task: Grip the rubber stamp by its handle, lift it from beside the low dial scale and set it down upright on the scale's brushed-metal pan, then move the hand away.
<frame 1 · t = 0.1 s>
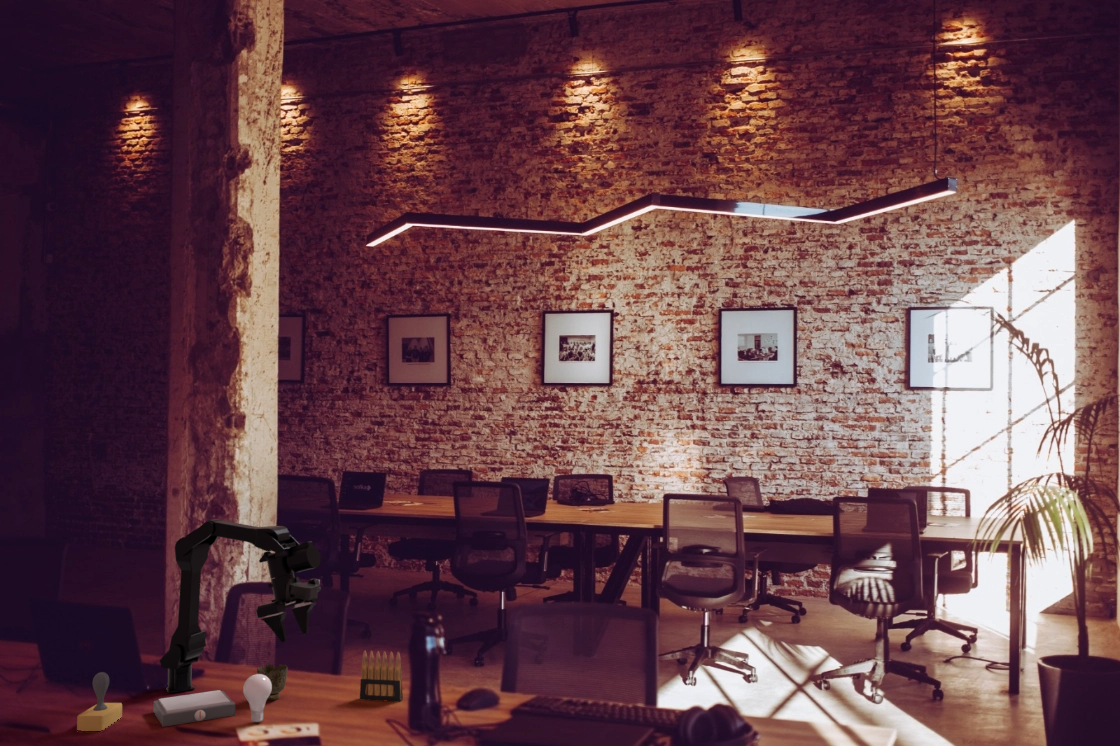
hand: (294, 638, 238), 15 cm above the table, tool pointing down, fingers open, 9 cm apart
dial scale: (194, 713, 227), on the table
ammunition clip: (381, 700, 238), on the table
lightbulb: (257, 723, 220), on the table
rubber stamp: (99, 726, 219), on the table
cup: (272, 699, 238), on the table
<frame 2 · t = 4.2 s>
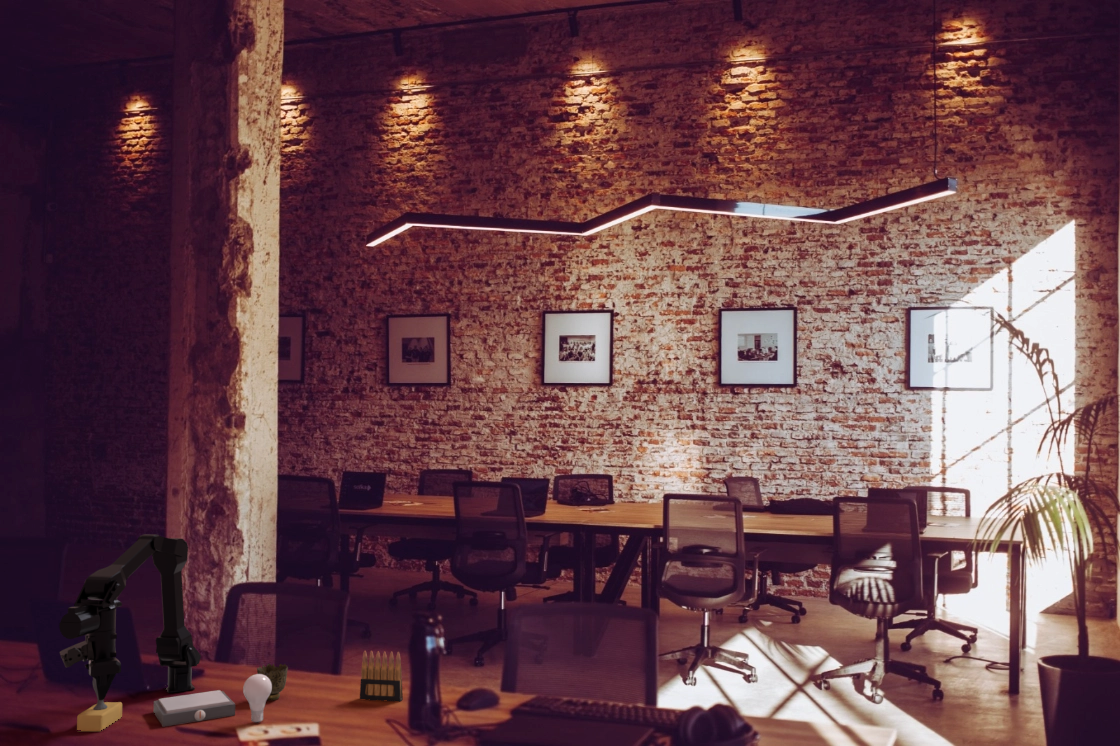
hand: (100, 698, 219), 6 cm above the table, tool pointing down, fingers closed on rubber stamp, 3 cm apart
rubber stamp: (99, 725, 219), on the table, touching gripper
everything else where it was.
when the fingers open (10 cm above the table, at t = 8.6 s): rubber stamp drops 1 cm, resting on dial scale.
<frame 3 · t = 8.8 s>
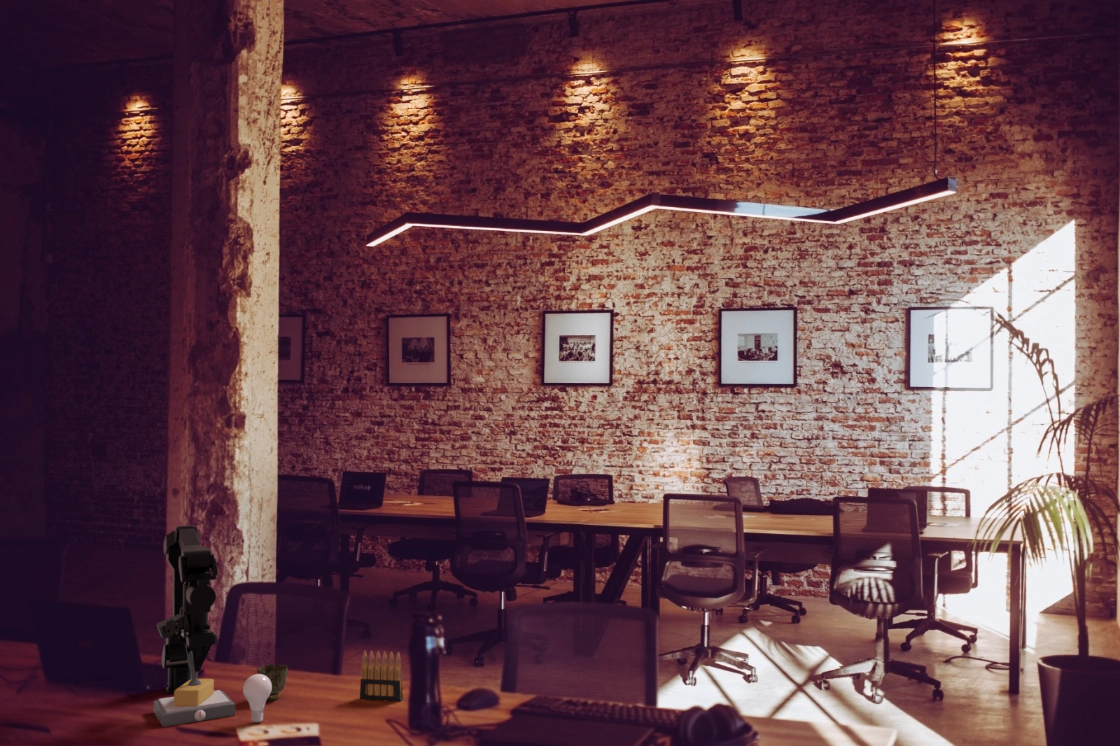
hand: (194, 669, 227), 10 cm above the table, tool pointing down, fingers open, 5 cm apart
rubber stamp: (194, 700, 227), point 3 cm above the table, touching dial scale
everything else where it was.
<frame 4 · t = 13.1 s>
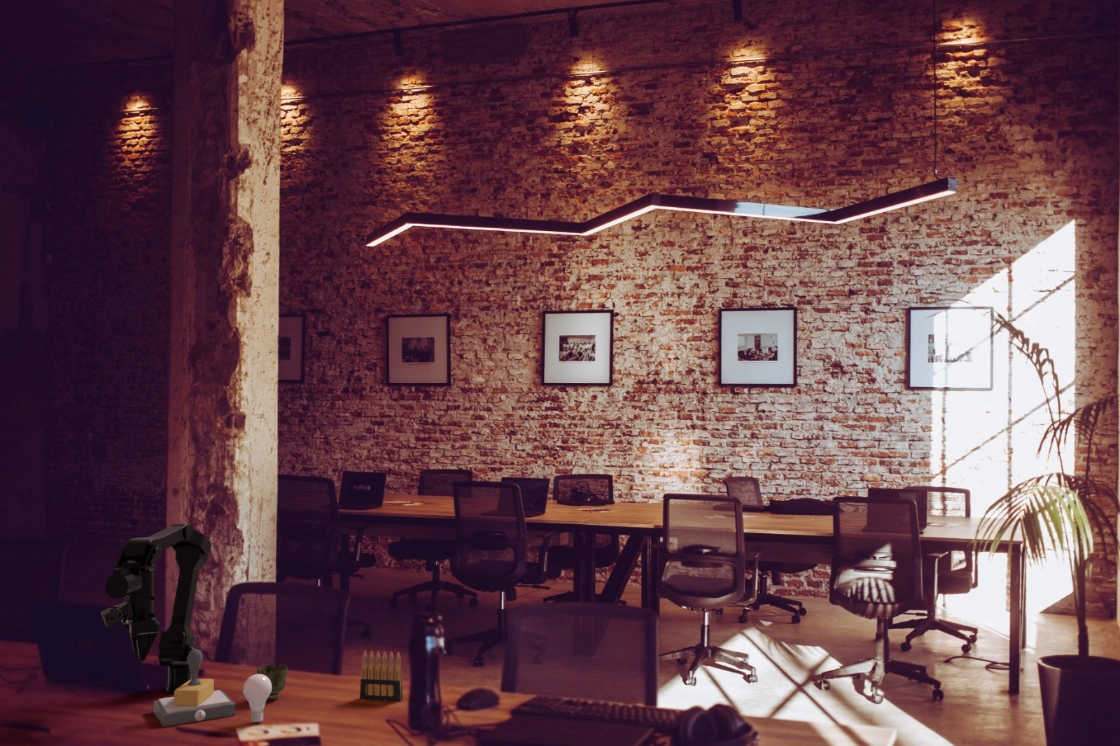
hand: (139, 656, 229), 13 cm above the table, tool pointing down, fingers open, 9 cm apart
nothing on the table moved.
at the end: rubber stamp inside the target area on the dial scale (0.1 cm from its centre), point 3.0 cm above the dial scale's base; rubber stamp tilted 0°; the gripper is holding nothing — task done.
